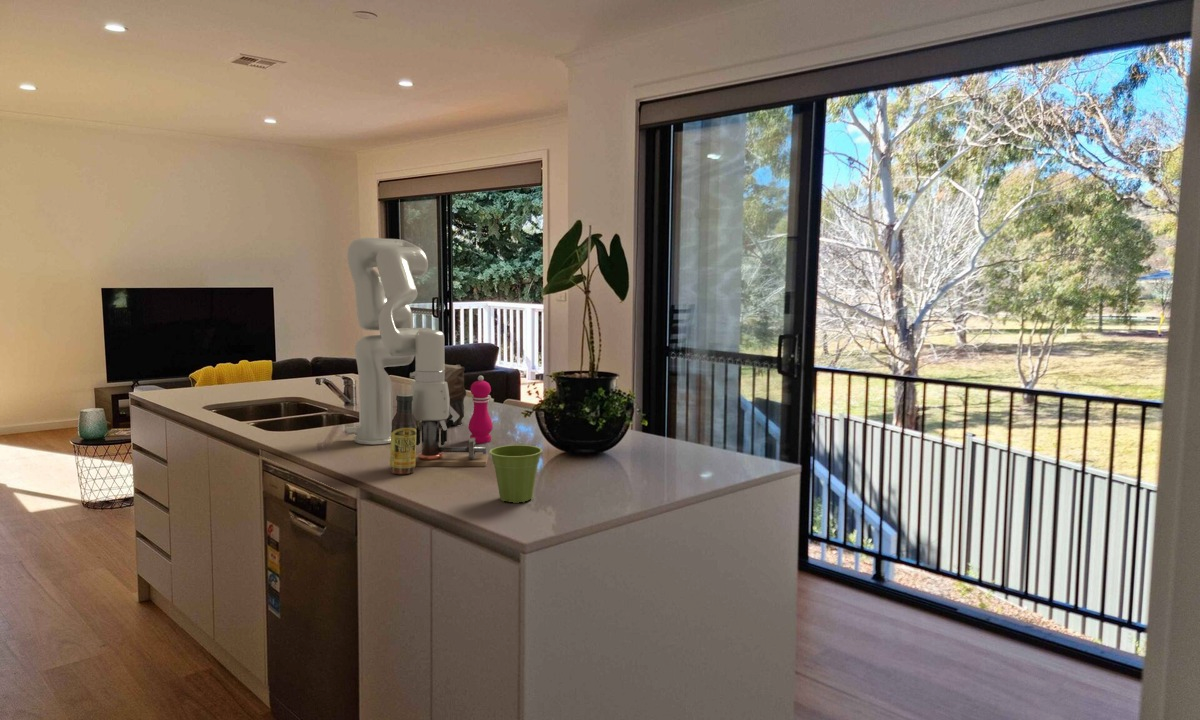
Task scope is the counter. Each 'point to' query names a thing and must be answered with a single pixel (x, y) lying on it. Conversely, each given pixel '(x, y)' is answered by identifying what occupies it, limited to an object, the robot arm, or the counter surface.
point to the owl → (455, 390)
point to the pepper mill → (480, 412)
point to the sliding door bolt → (437, 443)
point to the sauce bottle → (403, 437)
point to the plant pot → (515, 471)
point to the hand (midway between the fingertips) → (430, 443)
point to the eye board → (457, 459)
